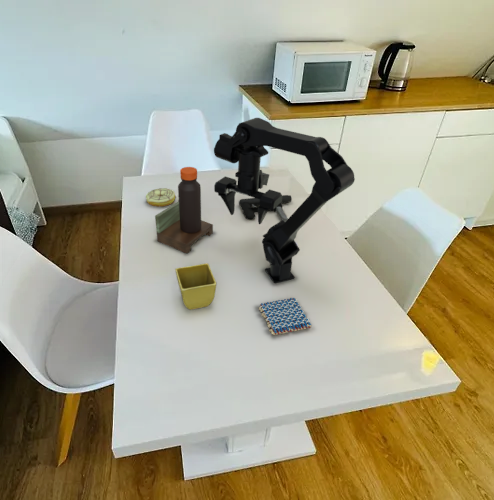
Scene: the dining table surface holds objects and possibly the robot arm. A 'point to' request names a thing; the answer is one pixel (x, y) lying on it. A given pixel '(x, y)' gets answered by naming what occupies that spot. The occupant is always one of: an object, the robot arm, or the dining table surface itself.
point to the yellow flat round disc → (160, 197)
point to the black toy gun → (254, 202)
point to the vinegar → (189, 201)
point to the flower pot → (196, 285)
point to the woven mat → (284, 316)
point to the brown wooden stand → (177, 230)
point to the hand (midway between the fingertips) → (245, 218)
